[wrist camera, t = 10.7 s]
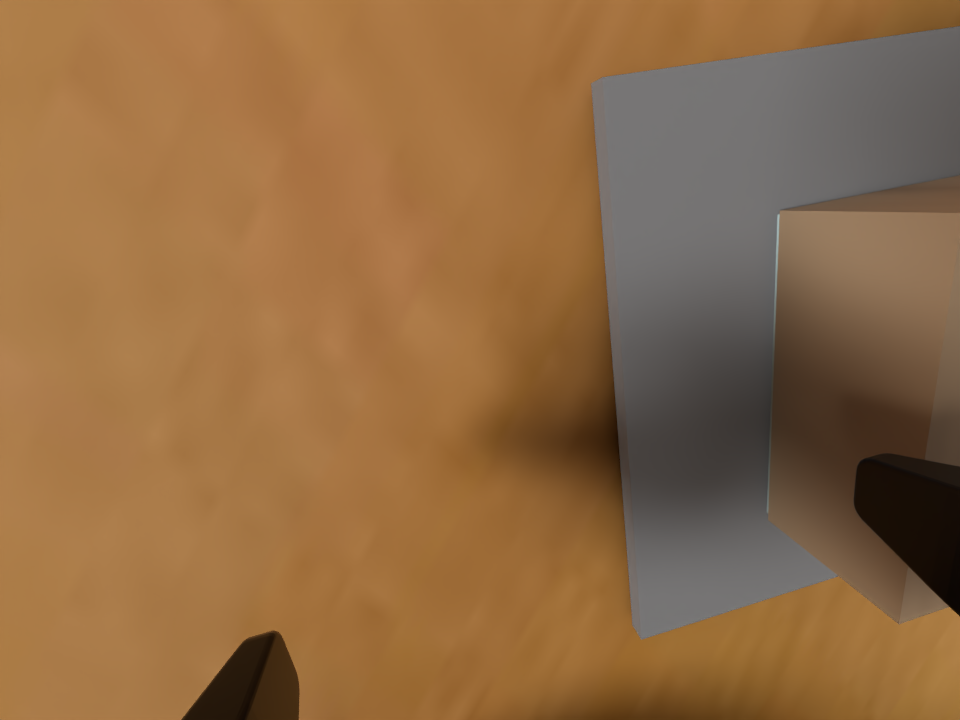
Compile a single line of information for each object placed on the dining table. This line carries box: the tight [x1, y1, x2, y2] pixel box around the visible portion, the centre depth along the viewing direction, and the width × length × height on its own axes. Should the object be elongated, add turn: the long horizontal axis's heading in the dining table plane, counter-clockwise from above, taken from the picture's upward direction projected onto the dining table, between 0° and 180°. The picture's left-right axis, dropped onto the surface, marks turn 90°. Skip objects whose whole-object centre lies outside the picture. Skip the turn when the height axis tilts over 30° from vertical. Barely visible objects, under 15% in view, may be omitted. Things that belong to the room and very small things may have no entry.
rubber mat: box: [591, 26, 960, 640], centre depth 13 cm, size 14×12×1 cm
